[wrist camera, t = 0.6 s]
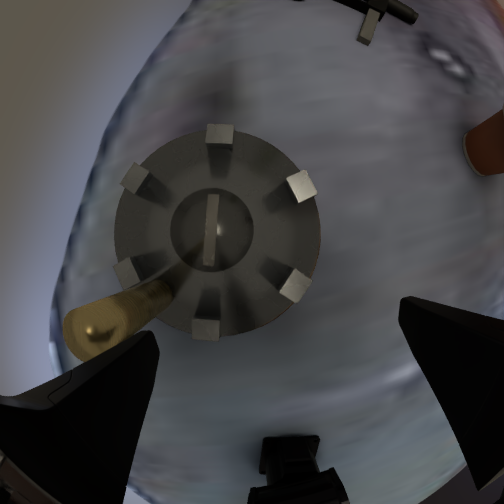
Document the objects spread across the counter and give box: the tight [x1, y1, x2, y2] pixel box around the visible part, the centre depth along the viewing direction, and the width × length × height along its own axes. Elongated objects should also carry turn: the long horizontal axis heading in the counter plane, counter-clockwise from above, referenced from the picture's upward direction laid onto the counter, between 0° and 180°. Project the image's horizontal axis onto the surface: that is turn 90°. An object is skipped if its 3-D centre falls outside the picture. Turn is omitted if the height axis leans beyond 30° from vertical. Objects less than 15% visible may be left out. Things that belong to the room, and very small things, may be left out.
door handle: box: [296, 0, 419, 46], centre depth 24 cm, size 3×20×16 cm
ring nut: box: [63, 124, 320, 362], centre depth 16 cm, size 16×16×14 cm
